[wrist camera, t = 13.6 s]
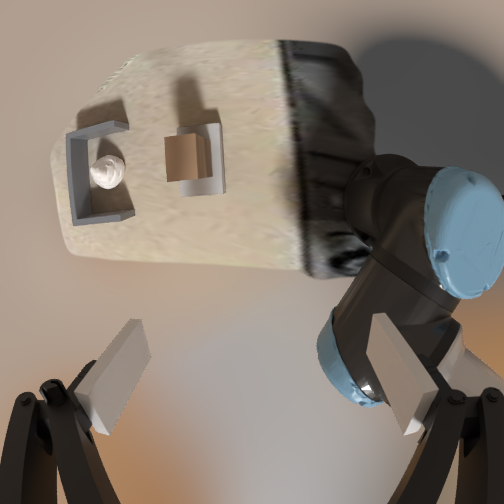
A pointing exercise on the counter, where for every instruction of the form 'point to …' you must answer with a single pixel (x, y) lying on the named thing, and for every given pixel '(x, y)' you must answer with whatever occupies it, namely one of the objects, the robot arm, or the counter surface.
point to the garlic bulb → (108, 171)
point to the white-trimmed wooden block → (196, 159)
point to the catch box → (80, 174)
